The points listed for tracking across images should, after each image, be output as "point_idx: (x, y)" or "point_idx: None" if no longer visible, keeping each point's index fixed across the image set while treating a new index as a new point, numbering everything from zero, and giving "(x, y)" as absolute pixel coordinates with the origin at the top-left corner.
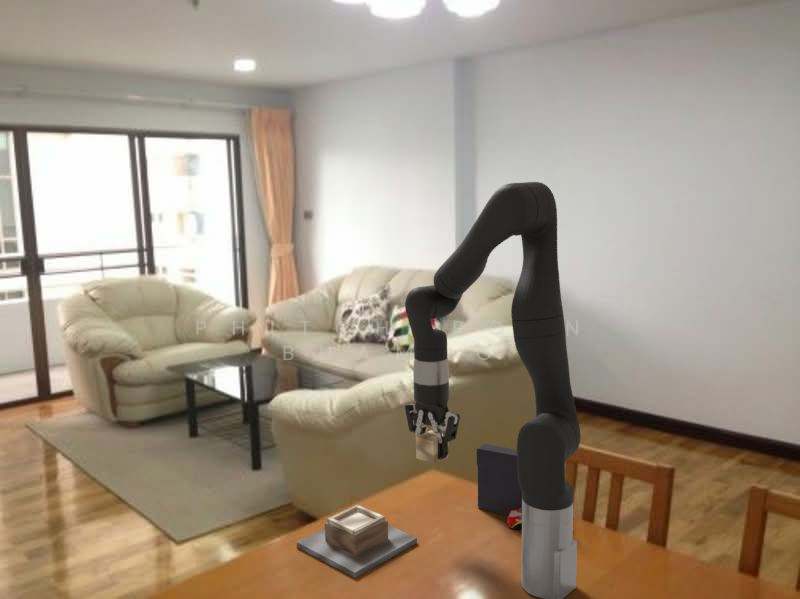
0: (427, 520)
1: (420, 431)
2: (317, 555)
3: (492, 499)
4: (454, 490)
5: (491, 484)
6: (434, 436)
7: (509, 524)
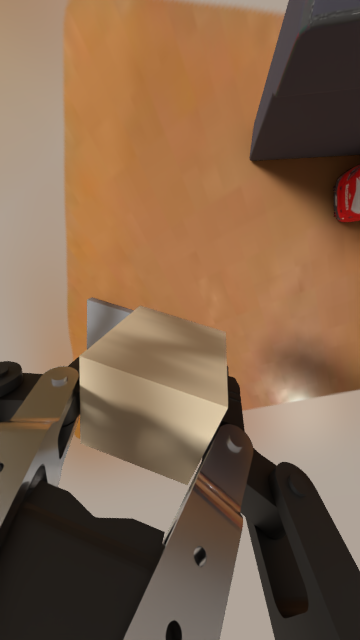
0: (178, 263)
1: (70, 441)
2: None
3: (297, 146)
4: (165, 88)
5: (312, 124)
6: (157, 435)
7: (342, 220)
